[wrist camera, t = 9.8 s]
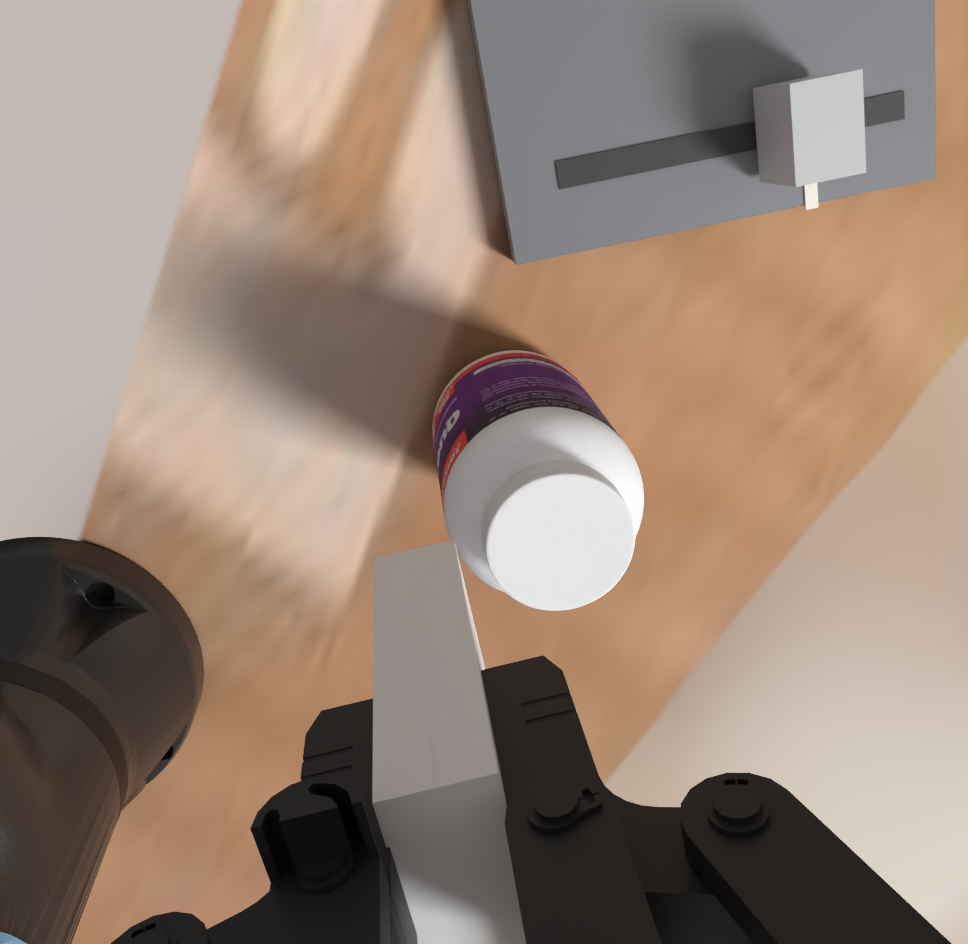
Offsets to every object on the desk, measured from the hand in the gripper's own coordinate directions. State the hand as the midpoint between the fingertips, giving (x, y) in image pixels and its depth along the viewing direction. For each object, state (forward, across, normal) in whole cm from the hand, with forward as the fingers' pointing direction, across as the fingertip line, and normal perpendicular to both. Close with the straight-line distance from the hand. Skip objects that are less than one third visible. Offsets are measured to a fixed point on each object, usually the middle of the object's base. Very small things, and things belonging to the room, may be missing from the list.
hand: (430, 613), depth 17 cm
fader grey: (+27, +19, +5) cm, 33 cm away
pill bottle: (+29, +4, -6) cm, 30 cm away
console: (+29, +16, +9) cm, 34 cm away
